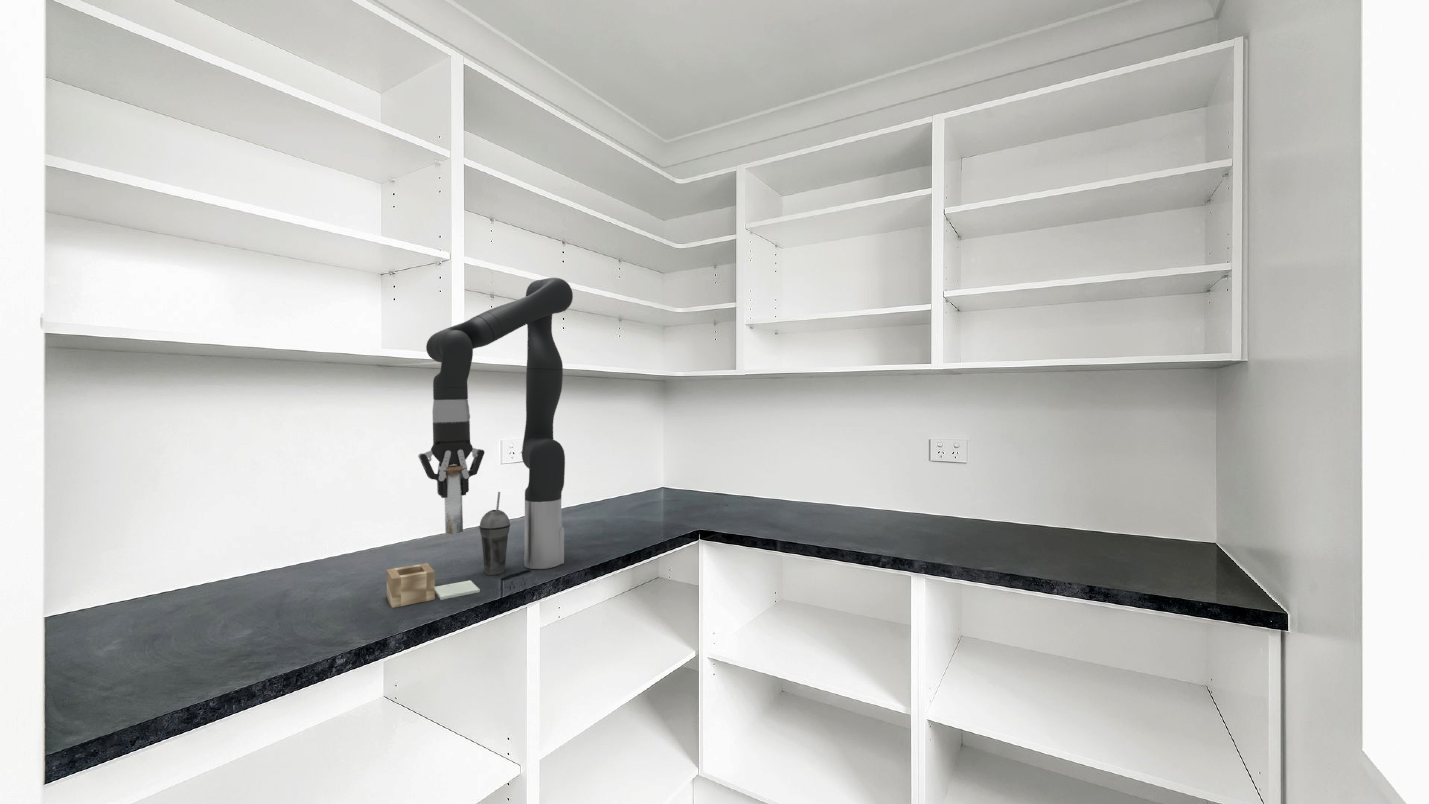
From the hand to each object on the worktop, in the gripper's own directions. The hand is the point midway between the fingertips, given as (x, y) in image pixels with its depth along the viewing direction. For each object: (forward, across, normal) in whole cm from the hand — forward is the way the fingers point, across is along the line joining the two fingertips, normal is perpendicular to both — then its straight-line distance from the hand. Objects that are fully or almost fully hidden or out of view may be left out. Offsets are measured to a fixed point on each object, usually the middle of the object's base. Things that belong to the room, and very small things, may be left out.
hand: (453, 495), depth 124 cm
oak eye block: (+21, +9, -1) cm, 23 cm away
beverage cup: (+22, -11, -9) cm, 26 cm away
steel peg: (+8, 0, 0) cm, 8 cm away
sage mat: (+22, 0, 0) cm, 22 cm away
